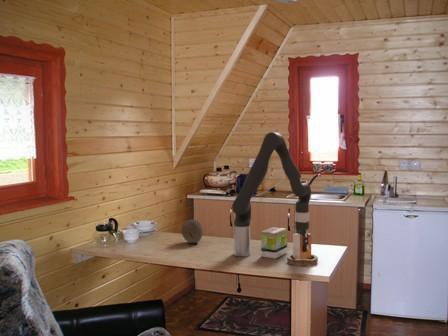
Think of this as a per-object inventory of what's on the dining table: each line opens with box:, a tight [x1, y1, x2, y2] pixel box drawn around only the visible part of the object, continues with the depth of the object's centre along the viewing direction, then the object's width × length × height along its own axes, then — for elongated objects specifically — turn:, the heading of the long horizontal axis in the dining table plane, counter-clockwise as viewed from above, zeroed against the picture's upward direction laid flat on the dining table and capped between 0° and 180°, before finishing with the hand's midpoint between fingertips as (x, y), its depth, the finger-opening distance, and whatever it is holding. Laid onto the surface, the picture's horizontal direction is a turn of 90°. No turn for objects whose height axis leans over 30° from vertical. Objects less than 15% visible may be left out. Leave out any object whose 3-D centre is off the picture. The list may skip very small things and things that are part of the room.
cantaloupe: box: [181, 219, 204, 244], centre depth 315 cm, size 14×14×15 cm
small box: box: [292, 232, 312, 259], centre depth 267 cm, size 8×6×13 cm
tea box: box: [260, 226, 288, 260], centre depth 283 cm, size 15×10×15 cm, turn 148°
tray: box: [286, 253, 319, 267], centre depth 268 cm, size 16×16×3 cm
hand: (302, 249), depth 267 cm, fingers closed on small box, 7 cm apart
